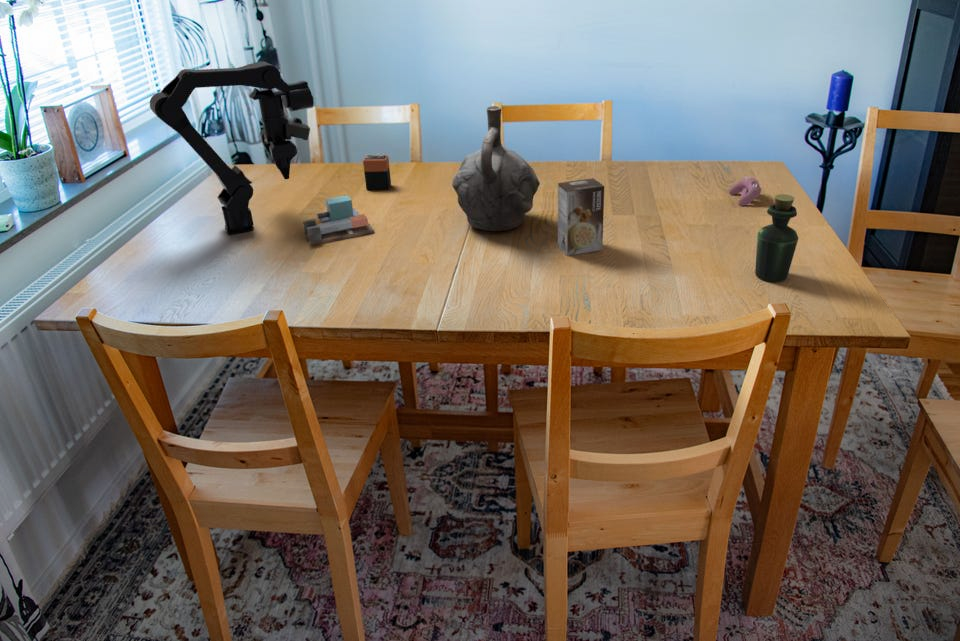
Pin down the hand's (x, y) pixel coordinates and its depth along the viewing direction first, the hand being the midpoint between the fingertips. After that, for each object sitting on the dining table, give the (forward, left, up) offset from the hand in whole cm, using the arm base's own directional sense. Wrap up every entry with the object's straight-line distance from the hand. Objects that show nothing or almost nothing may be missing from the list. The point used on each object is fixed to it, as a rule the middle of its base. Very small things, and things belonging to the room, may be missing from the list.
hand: (283, 173), depth 198 cm
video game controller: (+112, -49, -12) cm, 123 cm away
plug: (+10, -10, -11) cm, 18 cm away
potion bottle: (+87, -87, -12) cm, 124 cm away
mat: (+11, -10, -12) cm, 19 cm away
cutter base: (+9, -19, -12) cm, 24 cm away
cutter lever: (+9, -19, -10) cm, 23 cm away
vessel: (+46, -32, -12) cm, 57 cm away
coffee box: (+58, -55, -12) cm, 81 cm away
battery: (+28, +10, -12) cm, 32 cm away
